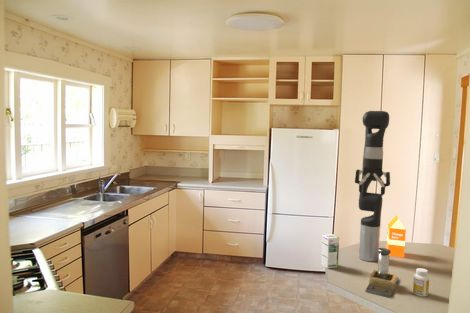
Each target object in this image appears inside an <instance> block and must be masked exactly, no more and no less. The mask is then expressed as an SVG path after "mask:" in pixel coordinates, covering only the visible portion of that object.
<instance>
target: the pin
mask: <svg viewBox="0 0 470 313" xmlns="http://www.w3.org/2000/svg"><path fill="white" fill-rule="evenodd" d="M386 248H387V247H386ZM386 248H385V247H379V248H378V251H377V252H379V257H378V261H377V262H378V264H377V271H378V278H380V279H385V280H388V273H389V266H390V256H389V254H390V253H391V250H389V249H386Z"/></svg>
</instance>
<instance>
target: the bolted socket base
mask: <svg viewBox="0 0 470 313" xmlns="http://www.w3.org/2000/svg"><path fill="white" fill-rule="evenodd" d="M368 281H369V282H368V285H367V286H366V288H365V292H366V293H370V294H373V295H378V296H381V297H386V298H391V296H392V294H393V293H394V290H395V288H396V286H397V283H398V281H399V276H397V274H393V273H390V272H388V280H385V279H380V278H378V270H376V269H374V270H373V271H372V272H371V274H370V275H369V280H368Z"/></svg>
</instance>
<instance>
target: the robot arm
mask: <svg viewBox="0 0 470 313" xmlns="http://www.w3.org/2000/svg"><path fill="white" fill-rule="evenodd" d="M362 124H363V126H364V127H365V131H364V132H365V133H364V134H365V135H364V136H365V138H364V147H363V158H362V169H356V170H355V178H354V183H355V184H358V191H359V192H358V193H359V197H358V208H359V210H360V211H365V212H371V213H373V214H371V215H369V216H364V217H361V219H360V232H359V246H358V251H359V252H358V258H359V259H360V260H362V261H365V262H378V258H379V252H377V251H378V248H380V238H381V222H382V221H381V219H382V208H383V196H384V195H385V194H386V188H387V187H389V186H390V185H391V172H390V171H387V172H386V171H383V164H384V162H383V161H384V138H385V133H386V129H387V128H388V127H389V124H390V114H389V112H387V111H385V110H369V111H366V112H365V113H363V116H362ZM373 130H378V131H375V132H373ZM360 175H361V180H360ZM383 176H384V177H385V182H384V179H382V177H383ZM372 181H373V182H378V183H379V184H380V186H381V187H380V193H376V192H375V193H374V192H368V188H369V187H370V184H371V183H372Z"/></svg>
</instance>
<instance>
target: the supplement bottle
mask: <svg viewBox="0 0 470 313" xmlns="http://www.w3.org/2000/svg"><path fill="white" fill-rule="evenodd" d="M428 272H429V271H428V269H426V268H421V267H418V268H416V271H415V273H414V274H413V287H412V289H413V290H412V293H413V294H414V295H416V296H419V297H427V296H428V295H429V287H430V276H429V275H428V274H429V273H428Z"/></svg>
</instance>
